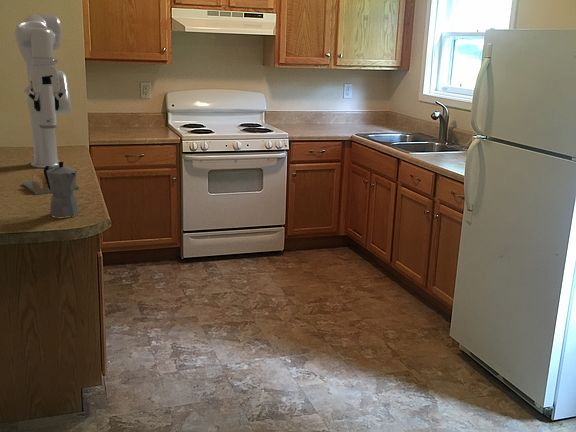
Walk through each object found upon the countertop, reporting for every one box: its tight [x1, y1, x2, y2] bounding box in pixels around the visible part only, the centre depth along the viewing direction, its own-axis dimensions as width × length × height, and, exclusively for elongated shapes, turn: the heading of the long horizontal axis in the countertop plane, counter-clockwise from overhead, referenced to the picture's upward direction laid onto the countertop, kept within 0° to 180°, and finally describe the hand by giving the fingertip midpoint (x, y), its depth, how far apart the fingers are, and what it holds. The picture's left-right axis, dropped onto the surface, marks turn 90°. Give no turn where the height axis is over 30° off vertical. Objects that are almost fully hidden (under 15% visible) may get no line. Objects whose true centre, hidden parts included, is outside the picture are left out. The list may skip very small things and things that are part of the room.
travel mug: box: [38, 75, 58, 129], centre depth 243 cm, size 6×7×20 cm
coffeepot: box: [43, 160, 80, 217], centre depth 208 cm, size 15×9×18 cm, turn 57°
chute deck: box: [21, 172, 80, 195], centre depth 242 cm, size 17×16×5 cm
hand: (47, 110), depth 243 cm, fingers closed on travel mug, 6 cm apart
